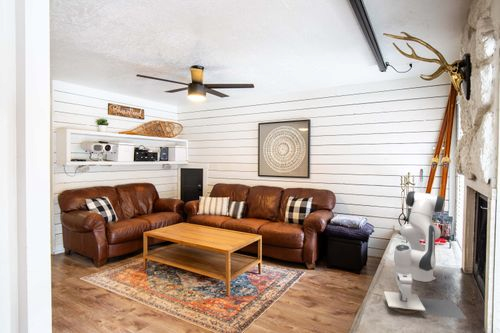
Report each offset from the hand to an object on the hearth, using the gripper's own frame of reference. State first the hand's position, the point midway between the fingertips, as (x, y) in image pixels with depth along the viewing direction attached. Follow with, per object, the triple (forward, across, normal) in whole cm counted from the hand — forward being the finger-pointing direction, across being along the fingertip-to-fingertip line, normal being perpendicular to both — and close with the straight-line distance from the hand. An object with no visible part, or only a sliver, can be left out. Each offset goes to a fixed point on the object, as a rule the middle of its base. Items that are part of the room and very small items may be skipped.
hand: (403, 298), depth 166 cm
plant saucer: (+7, 0, 0) cm, 7 cm away
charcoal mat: (+6, -6, +20) cm, 22 cm away
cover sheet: (+2, 0, 0) cm, 2 cm away
